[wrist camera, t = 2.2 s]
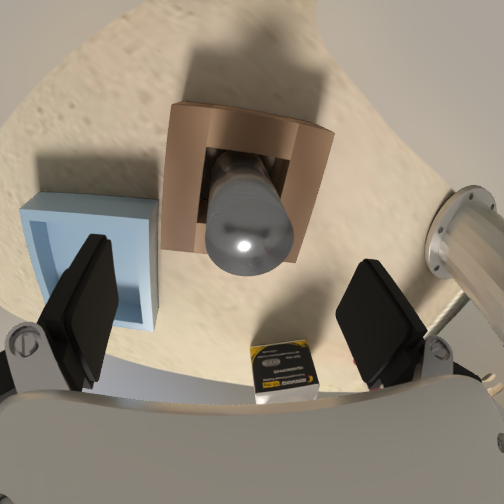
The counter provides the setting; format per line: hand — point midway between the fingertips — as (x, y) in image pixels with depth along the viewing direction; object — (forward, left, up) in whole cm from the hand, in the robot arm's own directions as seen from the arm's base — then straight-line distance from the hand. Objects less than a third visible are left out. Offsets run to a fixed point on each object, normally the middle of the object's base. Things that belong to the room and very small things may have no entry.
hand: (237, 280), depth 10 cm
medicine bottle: (-10, +23, -13) cm, 28 cm away
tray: (+11, +9, -13) cm, 19 cm away
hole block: (-1, 0, -13) cm, 13 cm away
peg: (-1, 0, -13) cm, 13 cm away
